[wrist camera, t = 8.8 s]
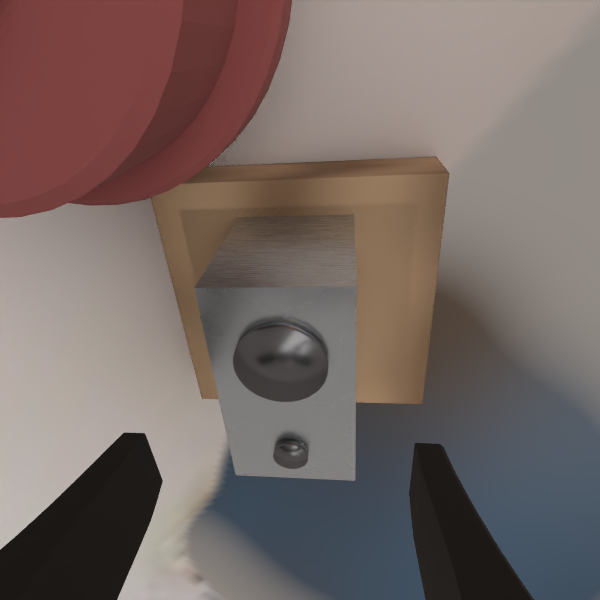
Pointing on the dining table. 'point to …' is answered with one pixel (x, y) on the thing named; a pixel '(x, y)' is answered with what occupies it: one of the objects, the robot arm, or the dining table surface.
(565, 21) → the dining table surface
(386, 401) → the stand
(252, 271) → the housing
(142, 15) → the mechanical component
